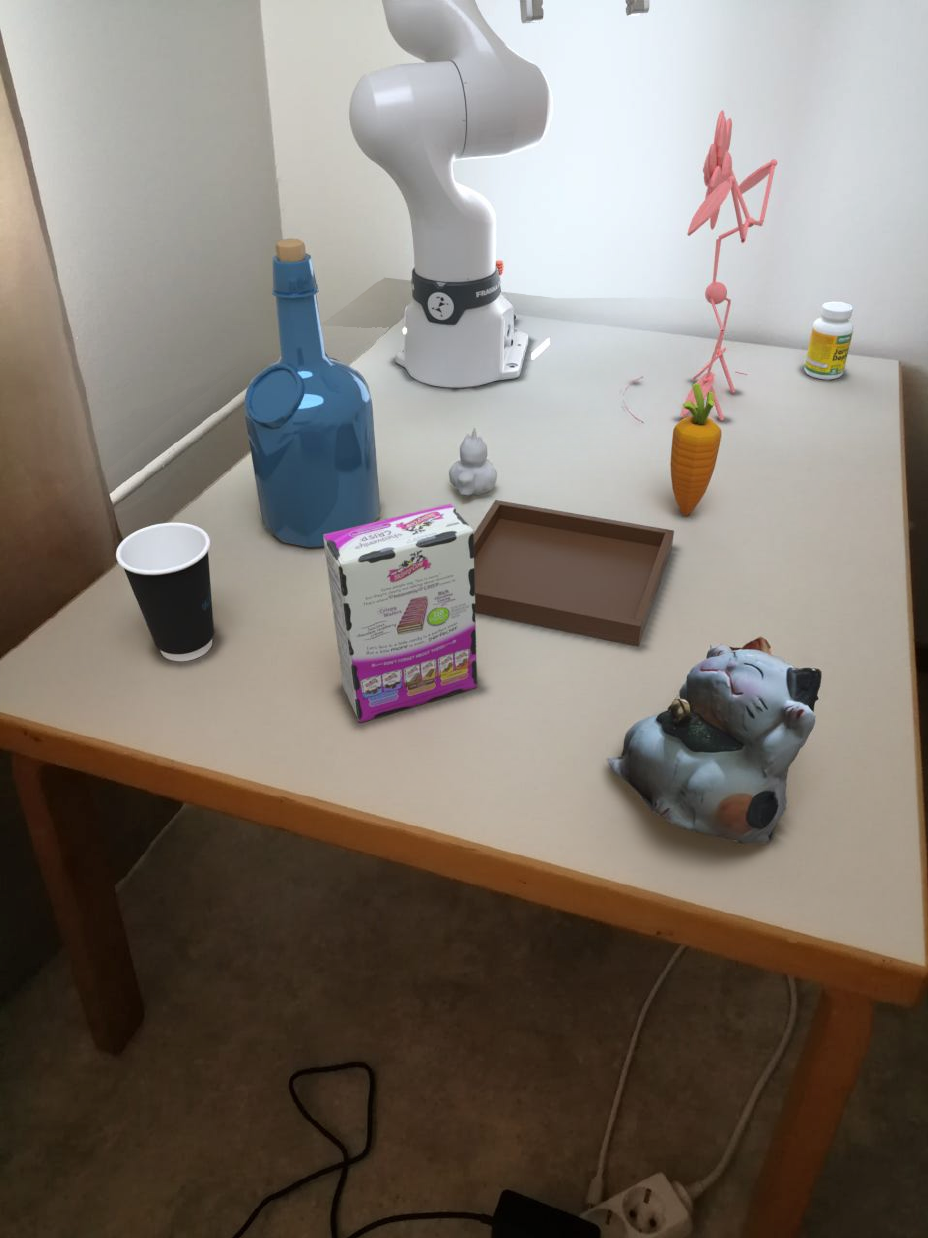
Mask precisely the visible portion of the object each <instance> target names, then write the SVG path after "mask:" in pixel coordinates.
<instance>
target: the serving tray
mask: <svg viewBox="0 0 928 1238" xmlns="http://www.w3.org/2000/svg"><path fill="white" fill-rule="evenodd" d="M674 534H675V530H673V529H668V528H663V527H662V528H661V527H656V526H649V525H646V524H645V525H644V524H639V523H632V522H627V521H622V520H621V521H620V520H615V519H609V518H603V517H599V516H598V517H597V516H592V515H586V514H580V513H574V512H568V511H562V510H557V509H551V508H545V507H539V506H534V505H528V504H524V503H523V504H521V503H516V502H512V501H511V502H510V501H504V500H498V499H495V500H494V501H493V503H492V504H491V506H490V508H489V509H488V511H487V513H486V514H485V515H484V516H483V518H482V519H481V522H480V523H479V524H478V526H477V528H476V529H475V531H473V536H474V573H475V614H479V615H485V616H488V617H489V616H490V617H495V618H499V619H503V620H508V621H513V622H518V623H523V624H527V625H533V626H538V627H543V628H547V629H552V630H557V631H562V632H567V633H571V634H576V635H582V636H586V637H591V638H595V639H600V640H606V641H610V642H615V643H620V644H624V645H629V646H635V647H639V646H640V643H641V640H642V637H643V634H644V631H645V629H646V625H647V622H648V619H649V616H650V613H651V612H652V611H651V610H652V608H653V605H654V602H655V599H656V596H657V593H658V590H659V587H660V584H661V583H662V582H661V581H662V579H663V576H664V572H665V570H666V567H667V564H668V561H669V558H670V555H671V552H672V549H673V541H674V536H675V535H674Z"/></svg>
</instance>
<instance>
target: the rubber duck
mask: <svg viewBox="0 0 928 1238" xmlns="http://www.w3.org/2000/svg"><path fill="white" fill-rule="evenodd" d="M459 456H460V457H459V460H457V461H455V462H454V463H453V464H452V466H451V467H450V468H449V470H448V479H449V483H450V484H451V485H452V486H453V487H456V488H457V489H458V492H459V494H460V495H464V496H470V495H482V494H485V493H487V492H490V491H491V490H492V489H493V488H494V486H495V485H496V484H497V479H498V472H497V469H496V467H495V466H494V465H493V462H492V460H490V459H489V458H488V445H487V443H486V442H485V441H484V439H483V438H482V436H480V435H479V436H477V430H476V427H475V426H474V427H473V430H472V433H471V435H469V434H466V435H465V437H464V439H463V440H462V442H461V444H460V446H459Z"/></svg>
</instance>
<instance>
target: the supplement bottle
mask: <svg viewBox="0 0 928 1238" xmlns="http://www.w3.org/2000/svg"><path fill="white" fill-rule="evenodd" d="M853 310H854V307H853V305H851V304H849V303H847V302H844V301H833V300H832V301H827V302H824V303H823V304H822V305H821V310H820V317H818V318H816V319H815V321H814V322H813V325H812V329H811V333H810V338H809V342H808V343H809V344H808V348H807V354H806V359H805V363H804V372H805V373H806V375H808V376H809V377H811V378H815V379H819V380H836V379H838V378H840V377H842V375H843V374H844V371H845V367H846V363H847V358H848V354H849V351H850V347H851V346H850V345H851V342H852V337H853V333H854V323H853V322H852V321H851V320H850V319H851V318H852V315H853Z"/></svg>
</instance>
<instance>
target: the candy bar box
mask: <svg viewBox="0 0 928 1238" xmlns="http://www.w3.org/2000/svg"><path fill="white" fill-rule="evenodd" d="M473 534H474V529H473V528H472V527H471V525H469V524H468V522H467V521H466V520H464V518H463V516H461V515H460V513H458V512H457V508H456V507H454V506H453V504H451V503H447V504H444V505H439V506H435V507H432V508H427V509H423V510H418V511H415V512H414V511H413V512H410V513H407V514H402V515H398V516H394V517H390V518H386V519H381V520H376V521H375V522H373V523H369V524H365V525H361V526H357V527H353V528H348V529H344V530H340V531H336V532H332V533H328V534H324V535H323V540H324V546H323V548H324V555H325V561H326V569H327V575H328V584H329V591H330V599H331V607H332V614H333V621H334V630H335V636H336V642H337V643H336V644H337V652H338V658H339V665H340V666H339V667H340V673H341V681H342V687H343V691H344V694H345V696H346V698H347V700H348V701H349V703H350V705H351V707H352V710H353V711H354V714H355V716H356V719H357V720H358V722H359V723H364V722H368V721H371V720H374V719H377V718H381V717H384V716H387V715H391V714H394V713H398V712H400V711H403V710H407V709H410V708H414V707H417V706H419V705H423V704H426V703H430V702H433V701H436V700H440V699H442V698H445V697H449V696H452V695H455V694H458V693H461V692H465V691H467V690H468V691H469V690H472V689H475V688H477V687H478V663H477V657H478V655H477V629H476V628H477V625H476V624H477V623H476V613H475V573H474V536H473Z"/></svg>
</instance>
